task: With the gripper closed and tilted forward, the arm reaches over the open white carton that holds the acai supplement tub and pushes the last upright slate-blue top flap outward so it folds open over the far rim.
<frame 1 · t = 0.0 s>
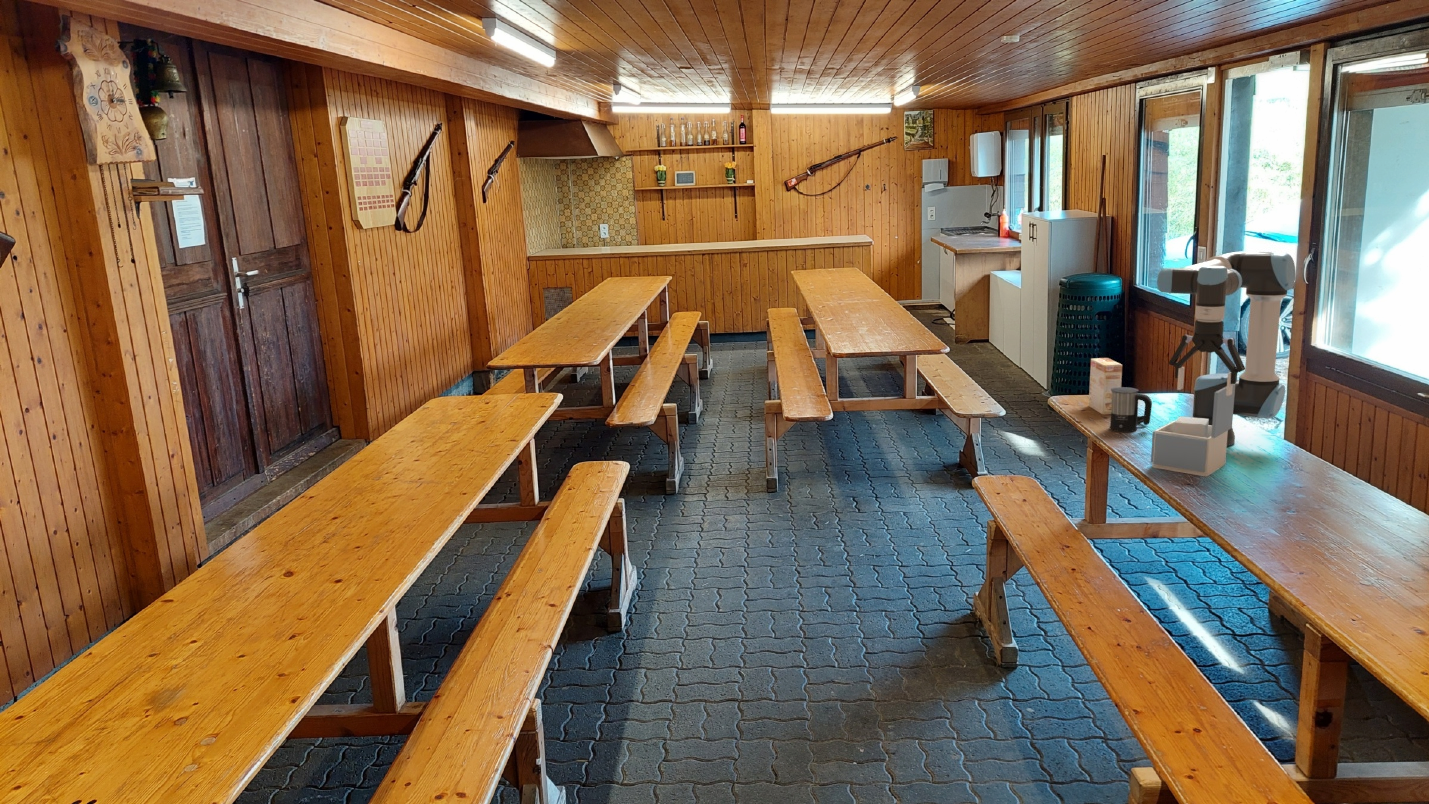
hand: (1204, 392, 288), 28 cm above the table, tool pointing down, fingers open, 13 cm apart
flap: (1223, 410, 301), point 19 cm above the table, hinge at 0.0°
coffeecake box: (1104, 410, 386), on the table
carton: (1188, 465, 312), on the table
supplement box: (1188, 466, 312), resting in carton
milk frother: (1128, 427, 360), on the table
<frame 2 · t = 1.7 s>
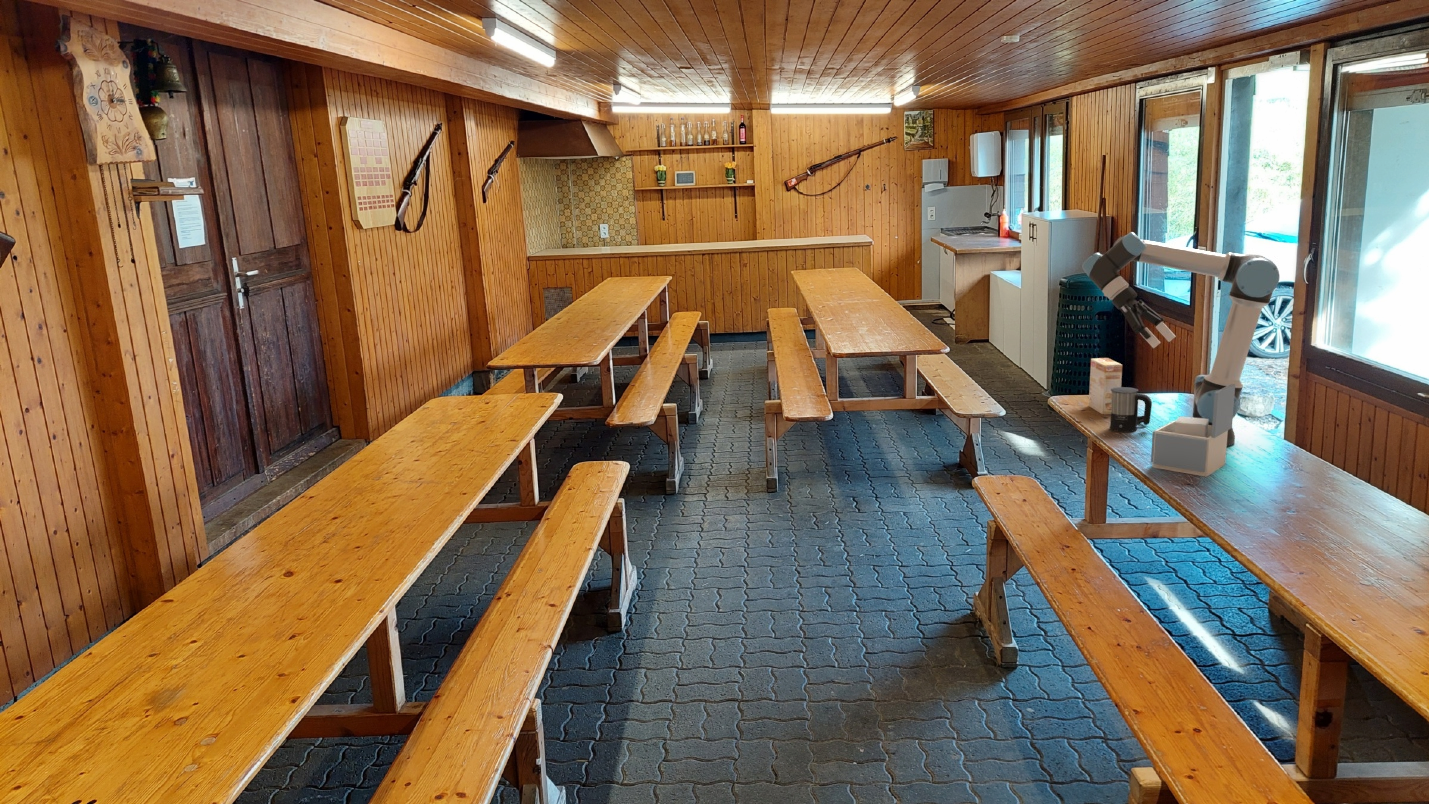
hand: (1165, 342, 316), 38 cm above the table, tool tilted 45°, fingers open, 13 cm apart
nothing on the table moved.
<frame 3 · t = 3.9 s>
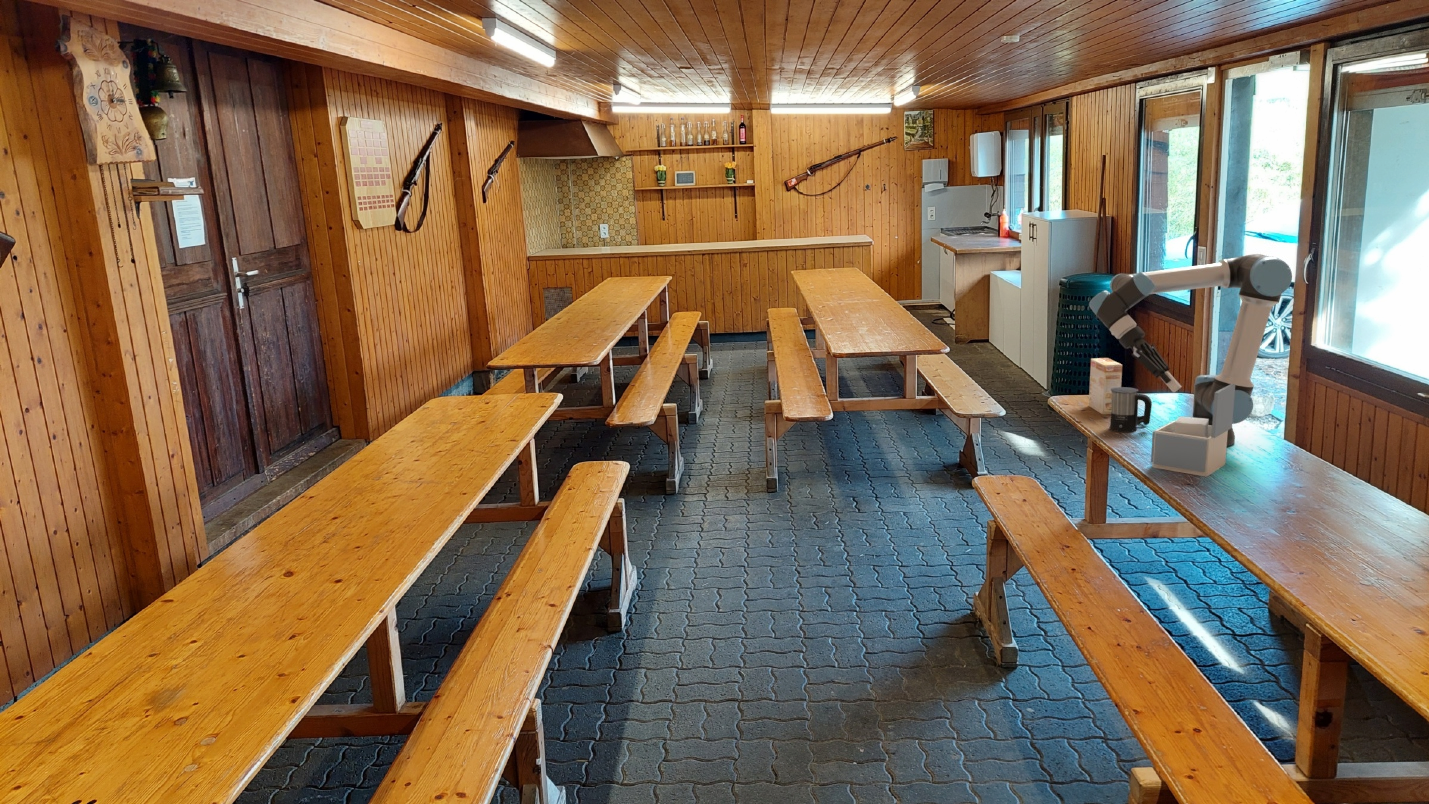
hand: (1177, 389, 309), 24 cm above the table, tool tilted 45°, fingers closed
nothing on the table moved.
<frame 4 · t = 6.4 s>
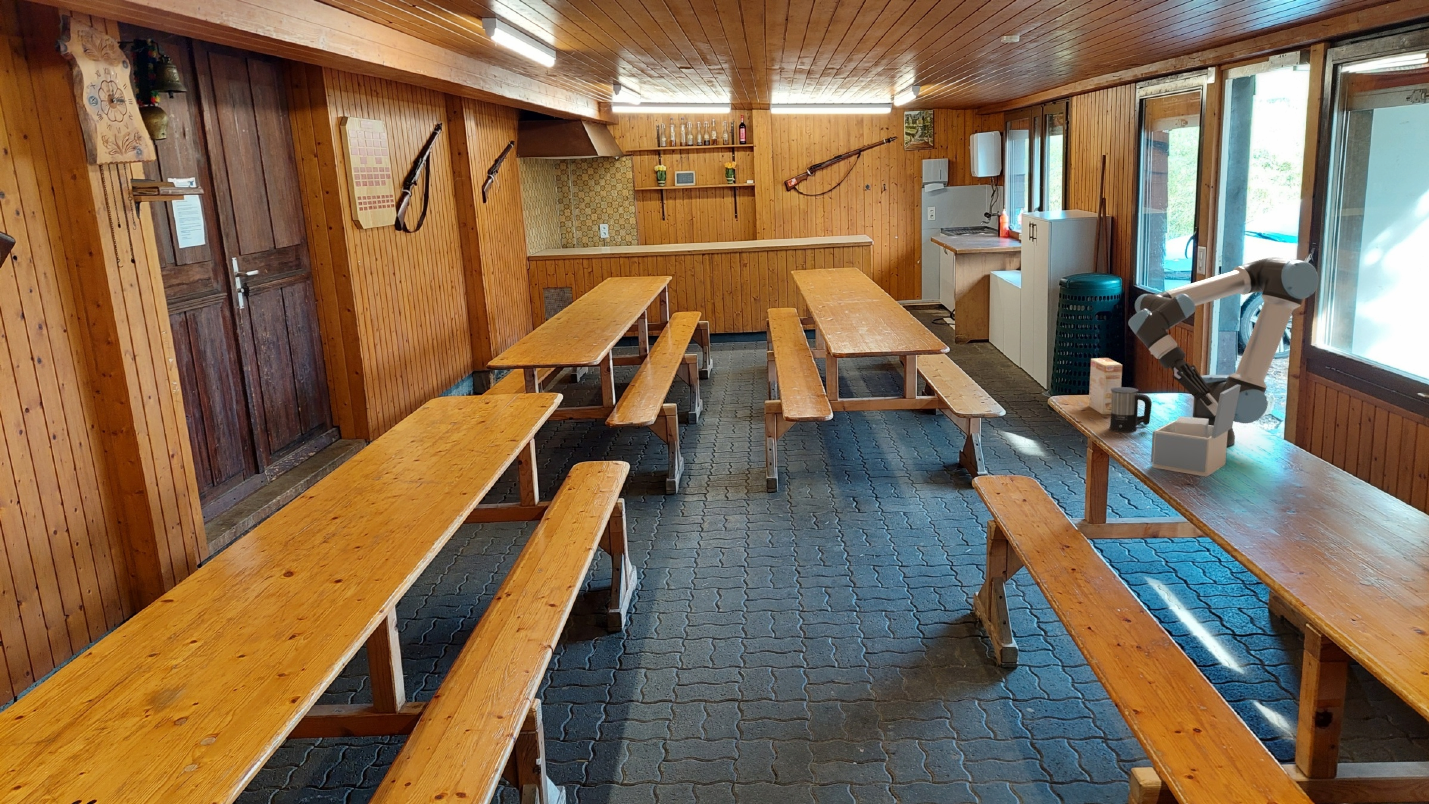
hand: (1218, 412, 301), 19 cm above the table, tool tilted 45°, fingers closed
flap: (1226, 411, 301), point 19 cm above the table, hinge at 6.4°, touching gripper
everything else where it was.
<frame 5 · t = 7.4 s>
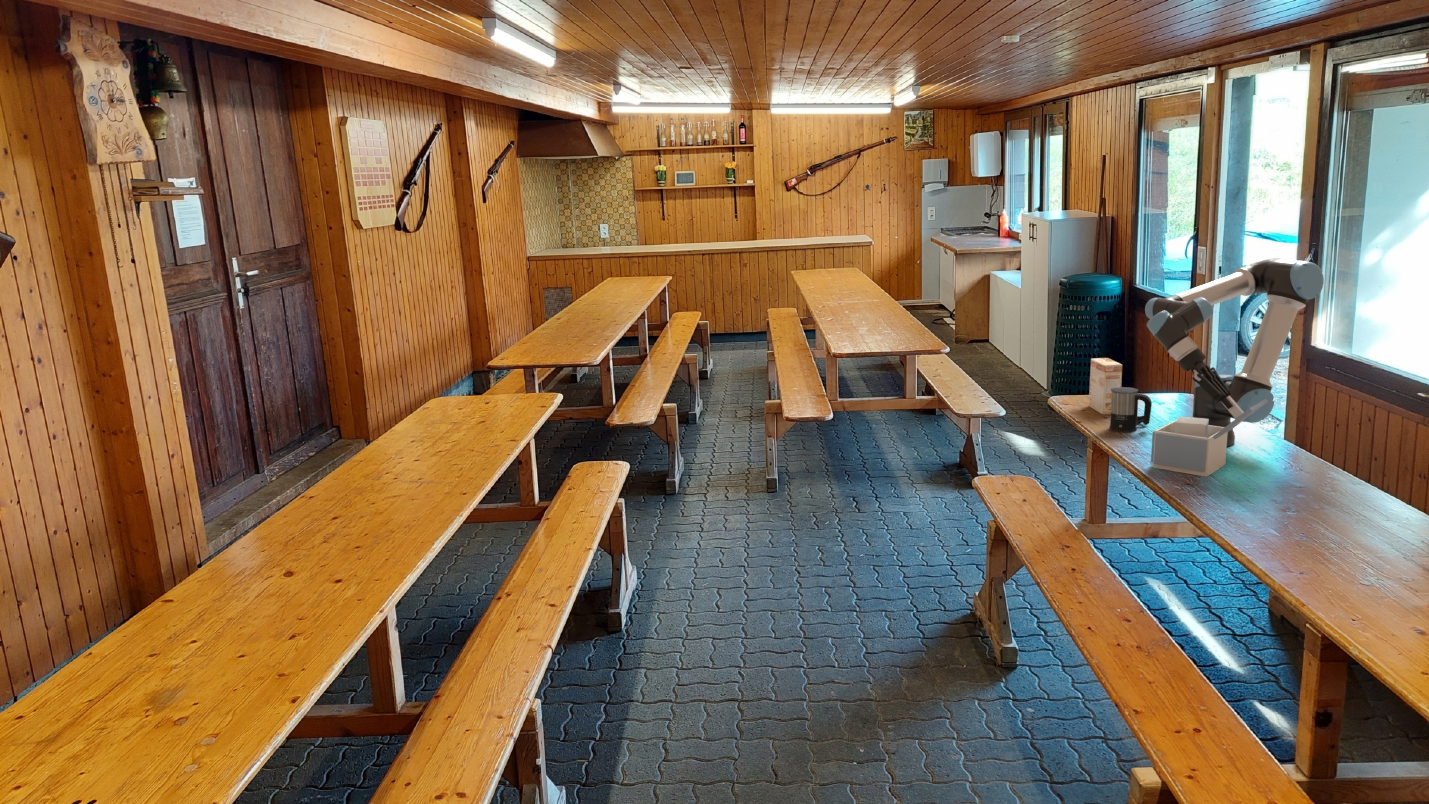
hand: (1239, 415, 297), 19 cm above the table, tool tilted 45°, fingers closed
flap: (1240, 419, 298), point 17 cm above the table, hinge at 43.1°, touching gripper
everything else where it was.
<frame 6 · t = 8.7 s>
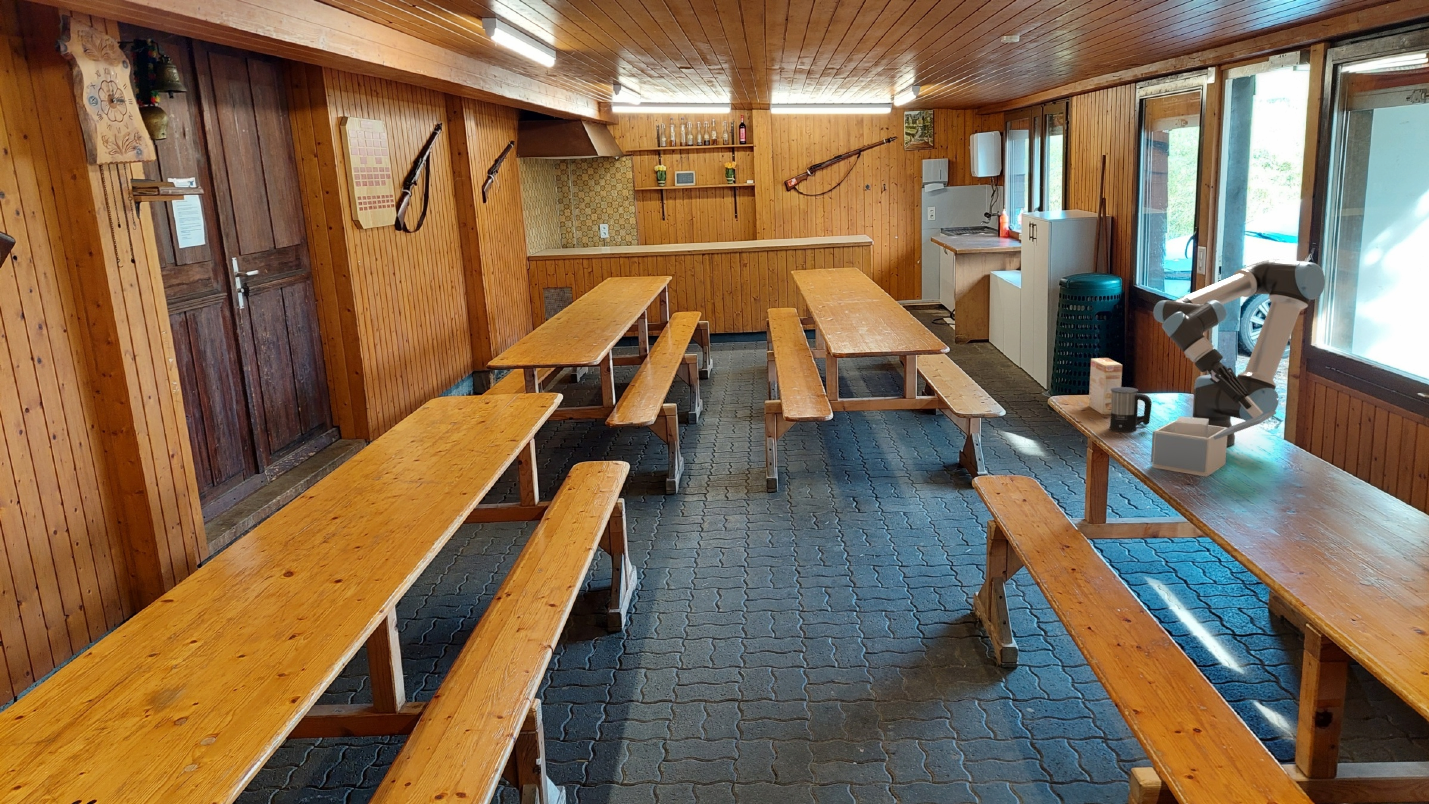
hand: (1258, 415, 294), 19 cm above the table, tool tilted 45°, fingers closed
flap: (1244, 425, 298), point 16 cm above the table, hinge at 60.0°, touching gripper
everything else where it was.
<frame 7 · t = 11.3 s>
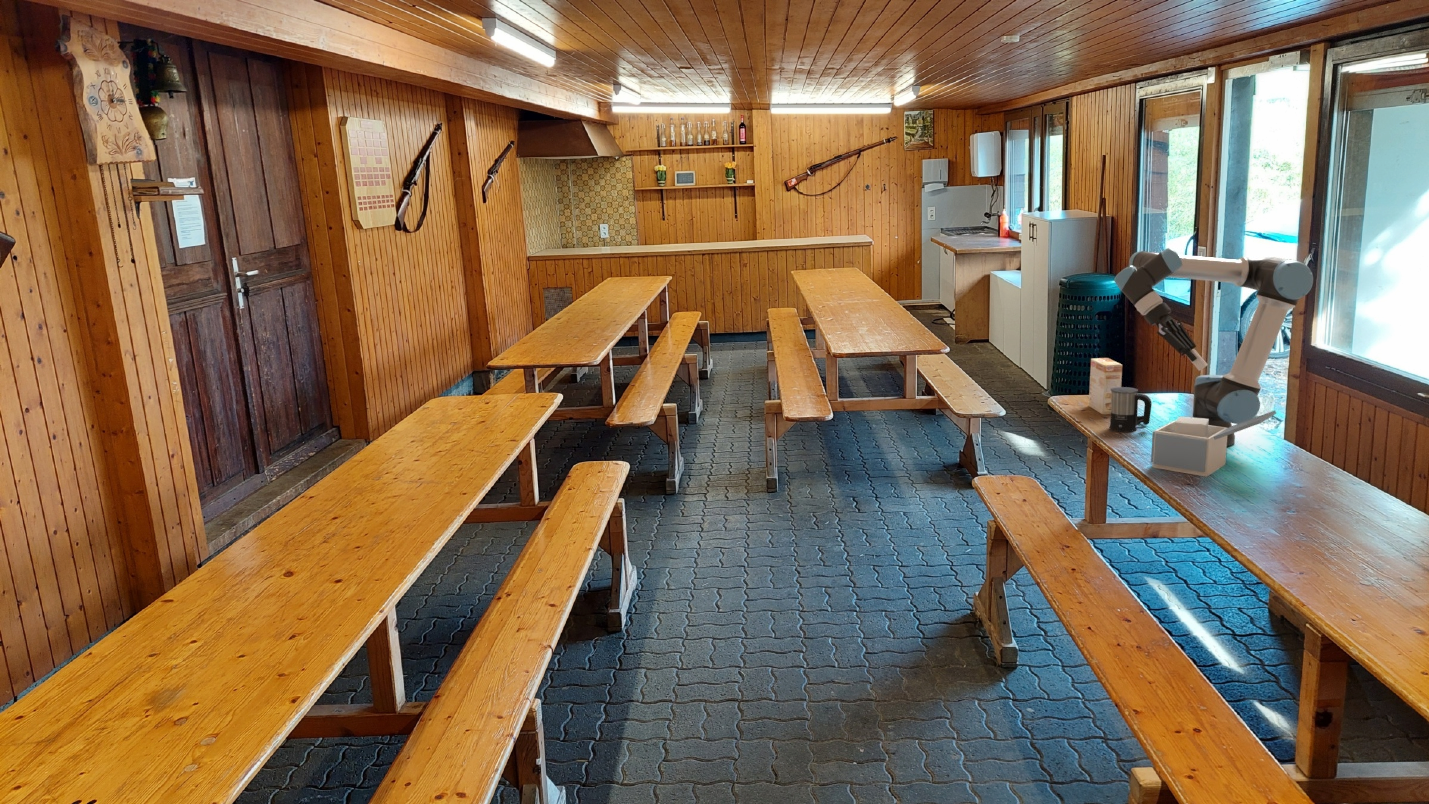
hand: (1203, 367, 303), 32 cm above the table, tool tilted 45°, fingers closed
flap: (1244, 425, 298), point 16 cm above the table, hinge at 60.0°
everything else where it was.
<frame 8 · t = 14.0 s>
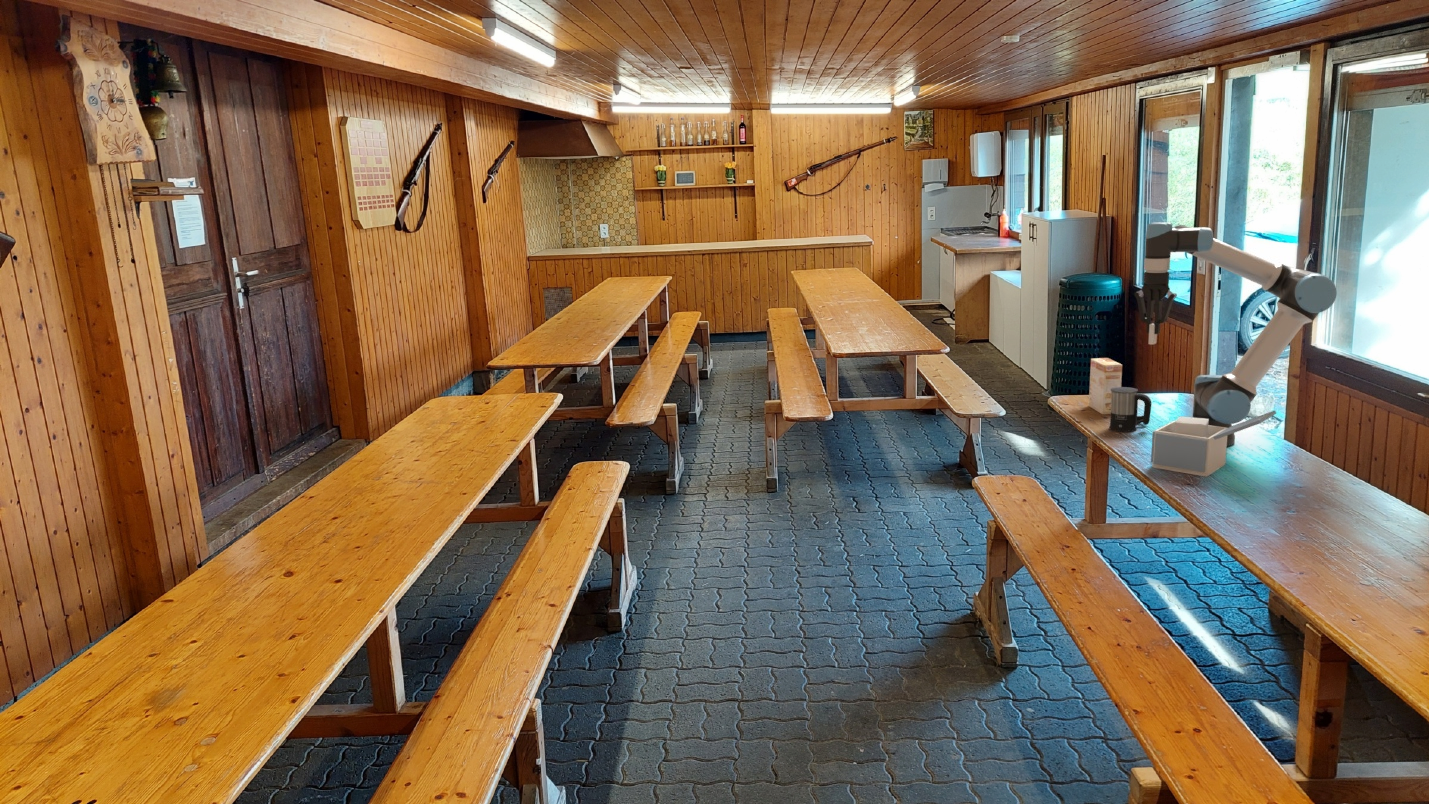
hand: (1152, 343, 321), 36 cm above the table, tool pointing down, fingers closed
nothing on the table moved.
at the end: flap at +60° (first picture: +0°); supplement box moved 0.3 cm from its start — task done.
